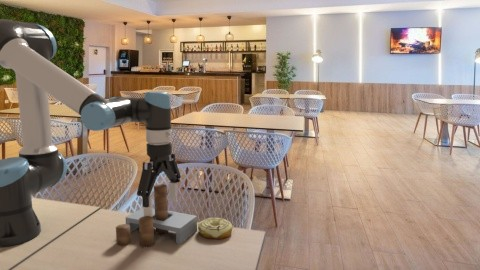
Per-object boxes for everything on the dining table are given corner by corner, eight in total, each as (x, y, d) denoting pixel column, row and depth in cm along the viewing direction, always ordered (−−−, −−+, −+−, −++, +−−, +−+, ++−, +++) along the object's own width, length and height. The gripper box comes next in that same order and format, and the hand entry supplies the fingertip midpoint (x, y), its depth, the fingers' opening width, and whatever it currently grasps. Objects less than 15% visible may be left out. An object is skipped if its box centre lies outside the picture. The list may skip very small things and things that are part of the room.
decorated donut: (218, 244, 112) (218, 232, 111) (191, 235, 118) (191, 223, 117) (238, 231, 120) (238, 220, 119) (212, 223, 126) (212, 213, 125)
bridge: (126, 232, 119) (125, 217, 118) (145, 220, 128) (145, 206, 127) (180, 244, 111) (180, 228, 110) (197, 230, 120) (196, 215, 119)
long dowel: (153, 232, 119) (151, 187, 116) (160, 227, 122) (158, 183, 119) (163, 234, 117) (162, 189, 114) (170, 229, 121) (169, 185, 118)
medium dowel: (137, 245, 110) (136, 220, 108) (145, 239, 114) (144, 215, 112) (148, 248, 108) (147, 222, 107) (156, 242, 112) (155, 217, 110)
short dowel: (113, 244, 111) (112, 228, 110) (122, 238, 114) (122, 223, 114) (124, 246, 109) (123, 230, 108) (133, 241, 113) (132, 225, 112)
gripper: (143, 152, 101) (146, 225, 105) (190, 136, 124) (191, 197, 128) (121, 149, 104) (125, 221, 108) (171, 134, 127) (172, 194, 131)
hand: (161, 208), depth 118 cm, fingers open, 13 cm apart
